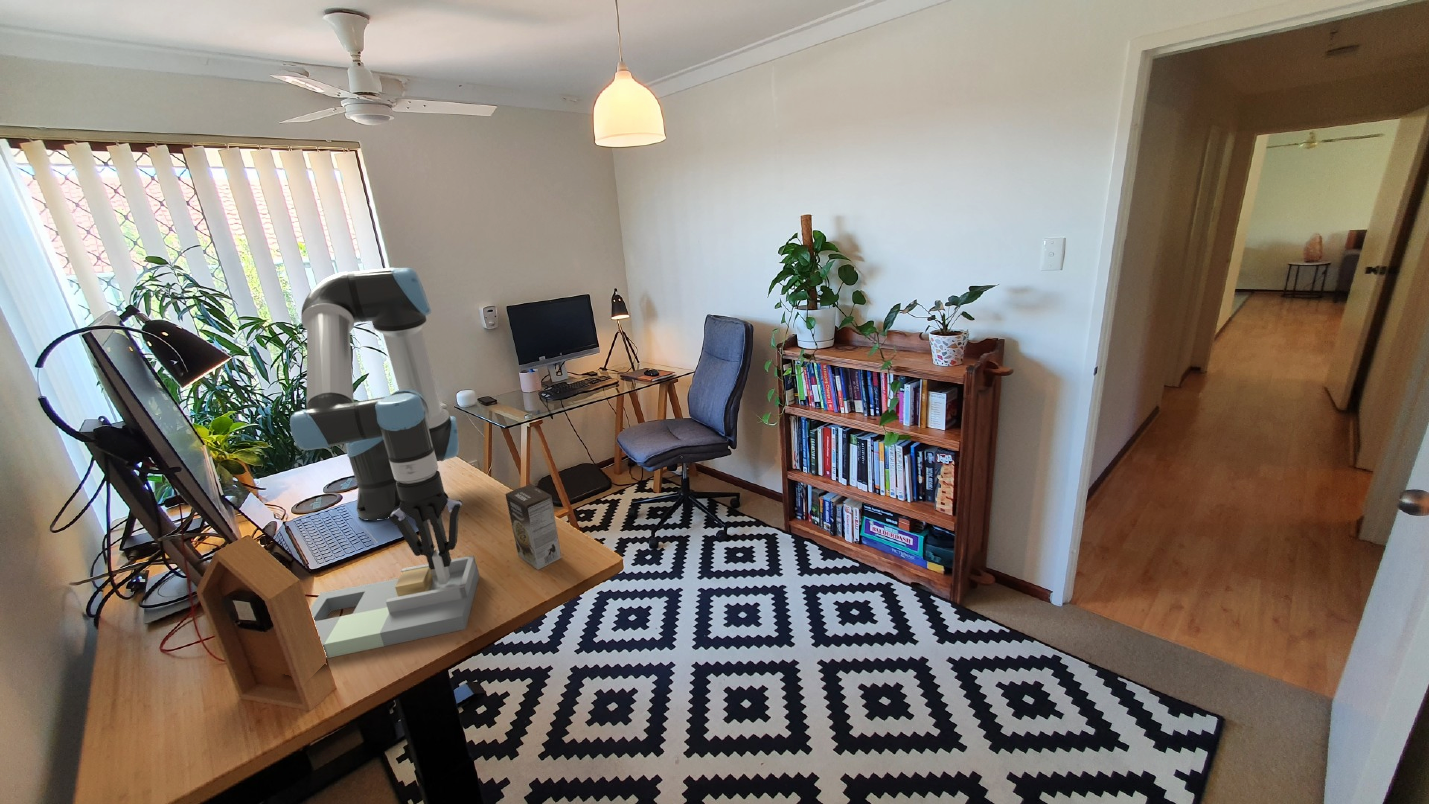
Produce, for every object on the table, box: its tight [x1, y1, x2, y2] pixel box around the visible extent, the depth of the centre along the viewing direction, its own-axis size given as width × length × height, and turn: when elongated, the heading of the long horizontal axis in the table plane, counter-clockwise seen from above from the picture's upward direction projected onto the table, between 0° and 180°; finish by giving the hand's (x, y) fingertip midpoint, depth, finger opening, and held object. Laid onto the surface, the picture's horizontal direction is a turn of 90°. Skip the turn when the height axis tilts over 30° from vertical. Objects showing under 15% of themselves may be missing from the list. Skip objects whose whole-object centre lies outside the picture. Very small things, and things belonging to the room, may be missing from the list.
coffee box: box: [504, 483, 562, 571], centre depth 121 cm, size 9×6×16 cm
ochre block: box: [395, 567, 433, 597], centre depth 108 cm, size 5×5×4 cm
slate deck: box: [310, 554, 480, 659], centre depth 106 cm, size 17×30×6 cm, turn 104°
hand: (444, 579), depth 110 cm, fingers closed
